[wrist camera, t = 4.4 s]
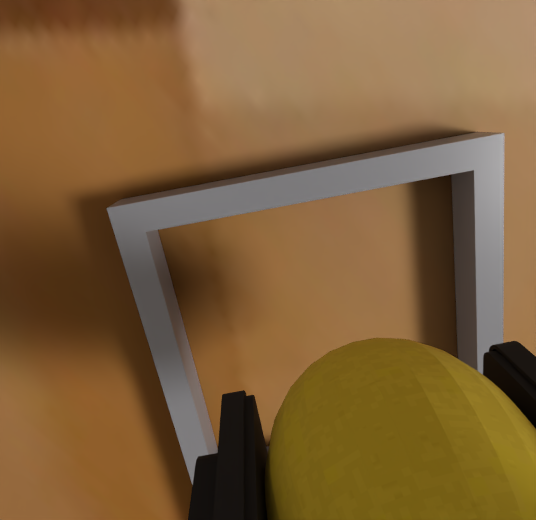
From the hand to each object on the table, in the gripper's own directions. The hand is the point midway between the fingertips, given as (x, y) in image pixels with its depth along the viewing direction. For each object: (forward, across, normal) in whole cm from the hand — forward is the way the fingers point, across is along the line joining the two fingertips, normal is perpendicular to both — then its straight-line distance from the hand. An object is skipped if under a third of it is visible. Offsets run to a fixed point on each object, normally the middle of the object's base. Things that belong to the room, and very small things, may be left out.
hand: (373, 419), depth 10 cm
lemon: (+2, 0, 0) cm, 2 cm away
